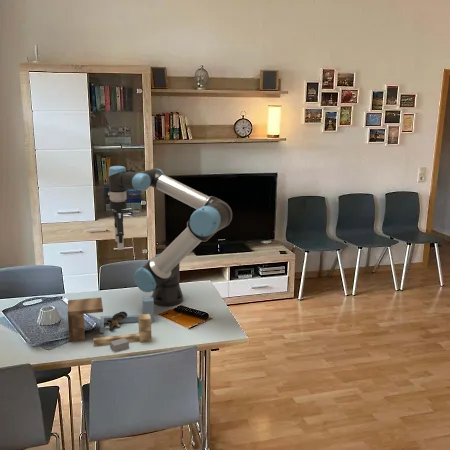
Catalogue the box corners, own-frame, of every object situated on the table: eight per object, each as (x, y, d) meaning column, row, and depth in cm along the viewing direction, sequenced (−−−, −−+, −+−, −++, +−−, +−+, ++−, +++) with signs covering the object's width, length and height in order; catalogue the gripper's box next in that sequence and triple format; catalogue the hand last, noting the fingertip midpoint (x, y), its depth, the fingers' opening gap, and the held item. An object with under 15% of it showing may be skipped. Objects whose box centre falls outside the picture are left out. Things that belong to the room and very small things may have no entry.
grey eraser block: (124, 344, 198) (124, 337, 197) (128, 348, 195) (128, 341, 194) (110, 348, 194) (110, 341, 193) (114, 352, 191) (114, 345, 190)
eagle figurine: (121, 330, 207) (131, 318, 214) (111, 317, 205) (122, 305, 213) (109, 336, 210) (119, 324, 218) (99, 323, 209) (110, 311, 217)
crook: (152, 318, 222) (152, 297, 219) (154, 330, 210) (155, 308, 208) (100, 320, 217) (100, 298, 214) (99, 332, 205) (99, 310, 203)
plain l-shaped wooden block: (149, 336, 205) (149, 313, 202) (151, 341, 200) (151, 318, 198) (93, 342, 198) (92, 319, 196) (94, 347, 194) (92, 324, 192)
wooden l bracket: (102, 325, 213) (101, 297, 210) (104, 338, 202) (102, 308, 199) (69, 328, 209) (67, 300, 206) (69, 342, 198) (67, 311, 195)
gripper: (107, 195, 236) (109, 238, 241) (111, 206, 212) (113, 253, 218) (123, 195, 238) (125, 237, 243) (129, 205, 215) (130, 252, 220)
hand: (119, 245), depth 230 cm, fingers open, 13 cm apart
